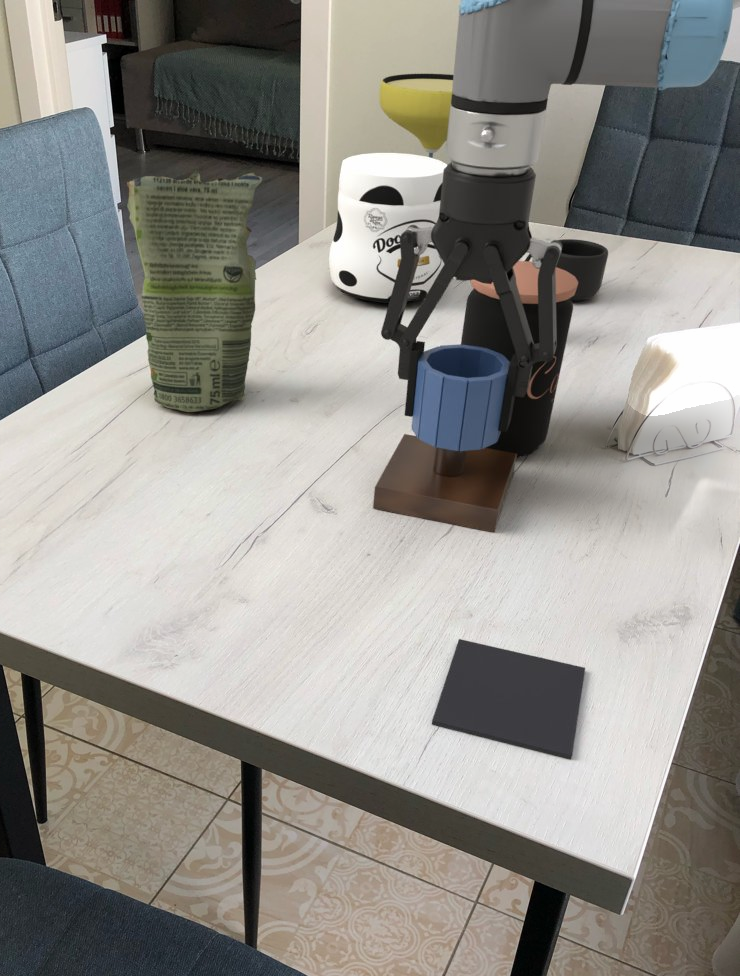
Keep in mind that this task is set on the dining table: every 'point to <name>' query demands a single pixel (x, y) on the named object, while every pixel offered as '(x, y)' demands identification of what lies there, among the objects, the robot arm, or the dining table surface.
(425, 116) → the cocktail glass
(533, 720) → the mat
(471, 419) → the ring
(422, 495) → the stand
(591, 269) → the mug
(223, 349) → the pouch
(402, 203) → the doce de leite jar
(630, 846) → the dining table surface
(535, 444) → the coffee jar
